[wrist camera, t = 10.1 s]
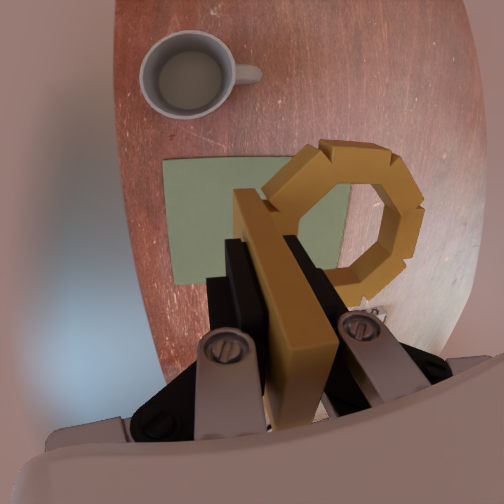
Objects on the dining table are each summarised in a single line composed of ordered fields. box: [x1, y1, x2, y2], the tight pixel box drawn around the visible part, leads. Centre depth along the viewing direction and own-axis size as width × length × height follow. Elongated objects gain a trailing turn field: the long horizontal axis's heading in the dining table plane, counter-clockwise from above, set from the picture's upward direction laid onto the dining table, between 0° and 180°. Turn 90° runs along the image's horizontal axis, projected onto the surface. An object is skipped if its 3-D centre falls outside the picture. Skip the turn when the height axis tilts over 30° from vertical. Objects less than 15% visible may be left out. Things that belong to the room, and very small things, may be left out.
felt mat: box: [162, 156, 351, 285], centre depth 36 cm, size 22×16×1 cm
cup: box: [139, 30, 263, 119], centre depth 23 cm, size 7×10×9 cm
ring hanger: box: [233, 139, 425, 432], centre depth 11 cm, size 9×8×9 cm
